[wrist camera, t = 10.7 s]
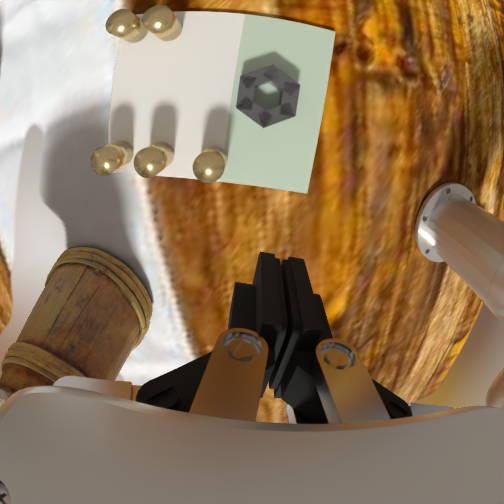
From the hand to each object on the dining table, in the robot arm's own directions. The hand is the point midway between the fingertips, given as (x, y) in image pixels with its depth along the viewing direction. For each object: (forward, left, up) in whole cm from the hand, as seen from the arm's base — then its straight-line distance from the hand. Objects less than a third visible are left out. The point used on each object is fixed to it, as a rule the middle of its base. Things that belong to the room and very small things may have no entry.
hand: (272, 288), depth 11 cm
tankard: (+23, +24, -23) cm, 40 cm away
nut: (0, -8, -22) cm, 24 cm away
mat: (+6, -8, -23) cm, 25 cm away
